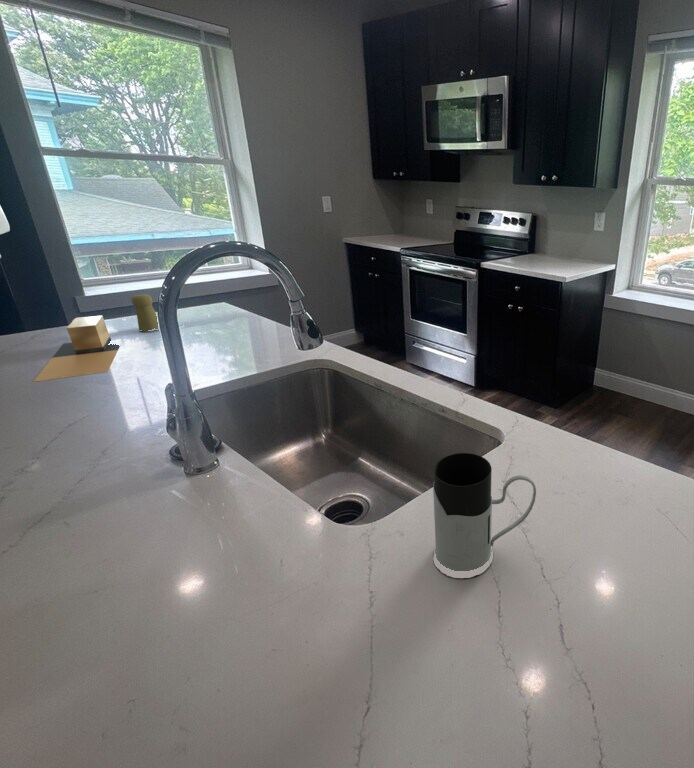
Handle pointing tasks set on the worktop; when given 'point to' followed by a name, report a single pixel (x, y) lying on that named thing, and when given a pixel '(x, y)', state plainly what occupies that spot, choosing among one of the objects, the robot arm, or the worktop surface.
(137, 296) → the pepper shaker
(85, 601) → the worktop surface
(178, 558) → the worktop surface
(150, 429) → the worktop surface
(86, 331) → the eraser block
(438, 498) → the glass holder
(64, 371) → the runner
